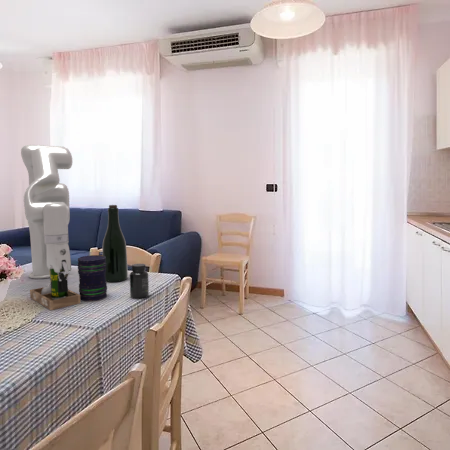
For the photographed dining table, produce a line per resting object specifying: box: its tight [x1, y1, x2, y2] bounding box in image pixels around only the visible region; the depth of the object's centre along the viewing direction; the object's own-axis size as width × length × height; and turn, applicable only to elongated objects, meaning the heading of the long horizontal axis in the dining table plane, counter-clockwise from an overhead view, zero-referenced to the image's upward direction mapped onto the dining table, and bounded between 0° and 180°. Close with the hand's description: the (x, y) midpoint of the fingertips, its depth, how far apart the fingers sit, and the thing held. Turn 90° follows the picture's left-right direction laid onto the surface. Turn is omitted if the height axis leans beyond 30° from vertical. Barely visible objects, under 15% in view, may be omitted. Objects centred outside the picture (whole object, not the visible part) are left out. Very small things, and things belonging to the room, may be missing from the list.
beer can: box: [49, 265, 68, 300], centre depth 126 cm, size 5×5×12 cm
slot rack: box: [29, 286, 81, 311], centre depth 130 cm, size 19×10×3 cm, turn 47°
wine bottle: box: [101, 204, 129, 283], centre depth 157 cm, size 10×10×33 cm
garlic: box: [41, 283, 51, 295], centre depth 133 cm, size 6×5×5 cm
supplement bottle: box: [129, 263, 150, 300], centre depth 135 cm, size 7×7×12 cm
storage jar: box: [77, 254, 108, 302], centre depth 133 cm, size 10×10×15 cm
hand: (59, 289), depth 127 cm, fingers closed on beer can, 5 cm apart
